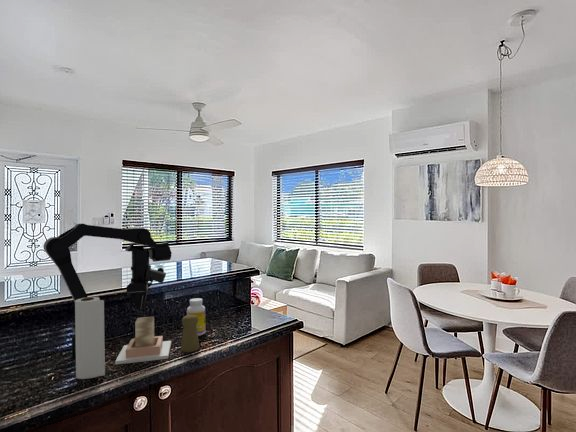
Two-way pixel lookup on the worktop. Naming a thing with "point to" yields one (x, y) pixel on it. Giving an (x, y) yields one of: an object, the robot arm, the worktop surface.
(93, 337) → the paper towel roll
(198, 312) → the supplement bottle
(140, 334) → the maple block
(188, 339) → the olive pepper mill
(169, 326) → the worktop surface
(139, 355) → the pocket plate
